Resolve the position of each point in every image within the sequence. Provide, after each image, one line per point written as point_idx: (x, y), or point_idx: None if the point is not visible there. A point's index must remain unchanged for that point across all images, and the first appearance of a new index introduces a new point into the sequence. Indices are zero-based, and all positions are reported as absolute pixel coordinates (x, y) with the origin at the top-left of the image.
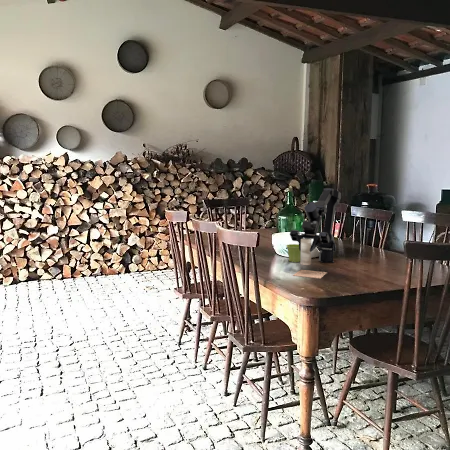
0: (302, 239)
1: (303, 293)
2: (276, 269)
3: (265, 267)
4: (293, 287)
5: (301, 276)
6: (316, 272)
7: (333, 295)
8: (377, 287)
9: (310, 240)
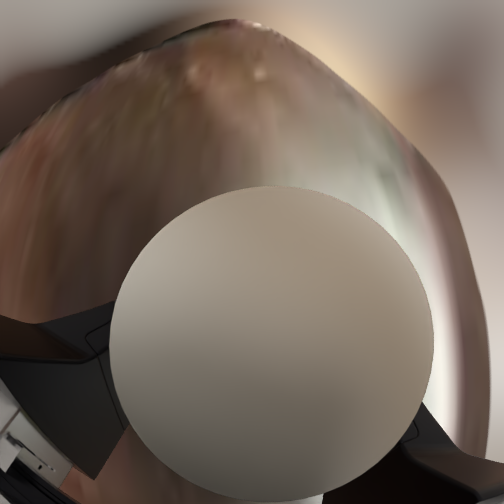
0: (386, 266)
1: (253, 41)
2: (433, 403)
3: (475, 420)
4: (293, 77)
5: None
6: None
7: (167, 47)
8: (18, 160)
9: (147, 259)
